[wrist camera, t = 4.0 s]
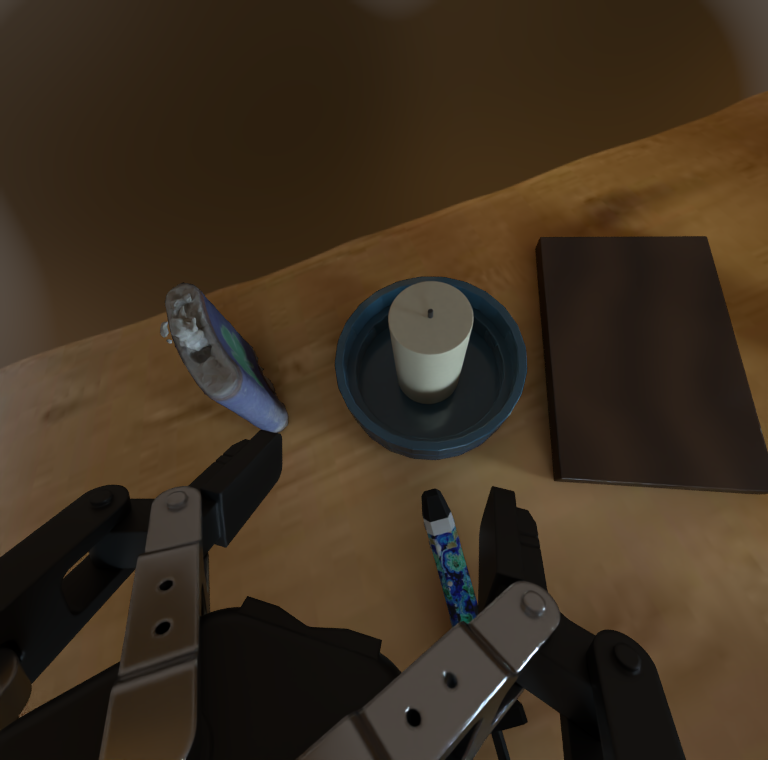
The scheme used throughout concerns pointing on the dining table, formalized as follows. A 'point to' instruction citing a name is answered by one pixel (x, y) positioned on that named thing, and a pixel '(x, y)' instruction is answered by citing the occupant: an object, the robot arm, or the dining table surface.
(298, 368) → the dining table surface
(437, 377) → the candle
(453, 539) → the knife
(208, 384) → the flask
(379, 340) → the bowl
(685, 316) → the cutting board
